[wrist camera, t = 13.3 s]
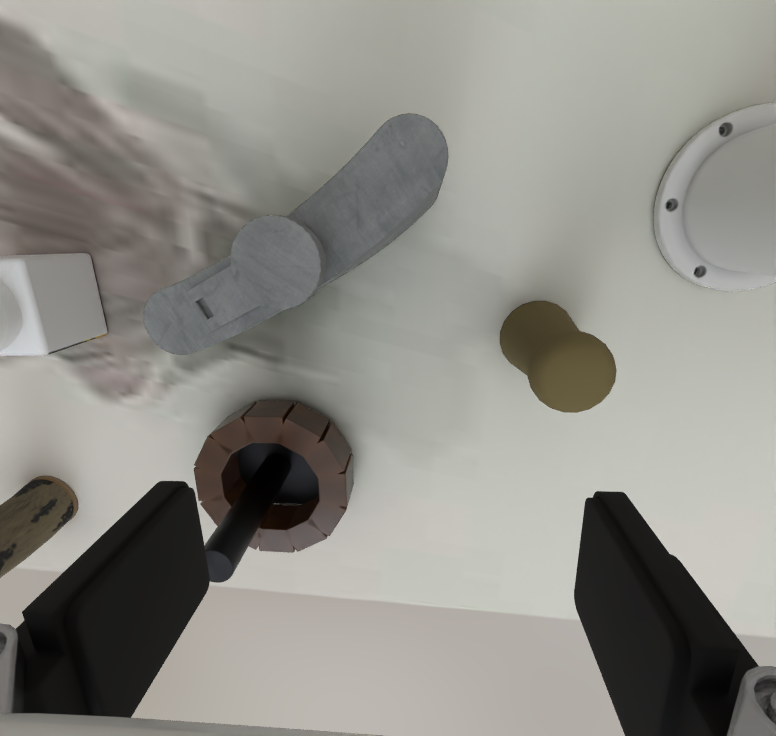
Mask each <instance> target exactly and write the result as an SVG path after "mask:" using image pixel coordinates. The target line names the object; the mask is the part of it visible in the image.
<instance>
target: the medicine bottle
mask: <svg viewBox="0 0 776 736" xmlns="http://www.w3.org/2000/svg"><path fill="white" fill-rule="evenodd" d="M106 334H107V327H106V322H105V318H104V313H103V309H102V304H101V300H100V295H99V291H98V287H97V282H96V278H95V273H94V269H93V264H92V260H91V256H90V255H89V254H87V253H69V254H36V255H10V256H0V356H16V355H48V354H51V353H54V352H57V351H60V350H63V349H66V348H69V347H71V346H74V345H77V344H80V343H83V342H86V341H89V340H92V339H95V338H98V337H101V336H104V335H106Z"/></svg>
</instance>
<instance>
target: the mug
mask: <svg viewBox="0 0 776 736" xmlns="http://www.w3.org/2000/svg"><path fill="white" fill-rule="evenodd" d="M77 510H78V502H77V498H76V496H75V494H74V492H73V491H72V489H71V488H70V487H69V486H68V485H67V484H66V483H64V482H63V481H61V480H59V479H57V478H54V477H51V476H41V477H37V478H35V479H33V480H32V481H30V482H29V483H28V484H27V485H25V486H24V487H23V488H22V489H21V490H20V491H18V492H17V493H16V494H15V495H14V496H13V497H11V498H10V499H9V500H7V501H6V502H4V503H3V504H2V505H0V578H1V577H2V576H3V575H5V574H6V573H7V572H9V571H10V570H11V569H13V568H14V567H15V566H17V565H18V564H19V563H21V562H22V561H24V560H25V559H26V558H27V557H29V556H30V555H31V554H32V553H33V552H34V551H36V550H37V549H38V548H39V547H40V546H42V545H43V544H44V543H45V542H46V541H48V540H49V539H50V538H51V537H52V536H53V535H54V534H55V533H56V532H58V531H59V530H60V529H61V528H62V527H63V526H64V525H65V524H66V523H67V522H68V521H69V520H71V519H72V518H73V517H74V516H75V515H76V512H77Z"/></svg>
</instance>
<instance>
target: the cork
mask: <svg viewBox="0 0 776 736" xmlns="http://www.w3.org/2000/svg"><path fill="white" fill-rule="evenodd" d="M500 345H501V348H502V352H503V354H504V355H505V357H506V358H507V360H508V361H509V362H510V363H511V364H513V365H514V366H515V367H517V368H518V369H519V370H521V371H522V372H523V373H525V374H526V375H527V376H528V379H529V383H530V386H531V389H532V390H533V392H534V393H535V395H536V396H537V397H538V399H539V400H540V401H541V402H543V403H544V404H546V405H547V406H549V407H550V408H552V409H555V410H558V411H562V412H580V411H584V410H588V409H590V408H592V407H594V406H595V405H597V404H599V403H600V402H601V401H602V400H603V399H604V398H605V397H606V396H607V395H608V394H609V393H610V391H611V389H612V387H613V385H614V383H615V377H616V365H615V361H614V357H613V355H612V353H611V352H610V350H609V349H608V347H607V346H606V344H604V343H603V342H602V341H600V340H599V339H598V338H596V337H595V336H593V335H591V334H588V333H585V332H581V331H579V330H578V328H577V327H576V325H575V324H574V322H573V321H572V319H571V318H570V317H569V315H568V314H567V312H566V311H565V310H564V309H562V308H561V307H559V306H558V305H557V304H553V303H550V302H547V301H533V302H530V303H526V304H523V305H521V306H520V307H518V308H517V309H515V310H514V311H512V312H511V314H510V315H509V316H508V317H507V319H506V320H505V321H504V324H503V326H502V329H501V332H500Z"/></svg>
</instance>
